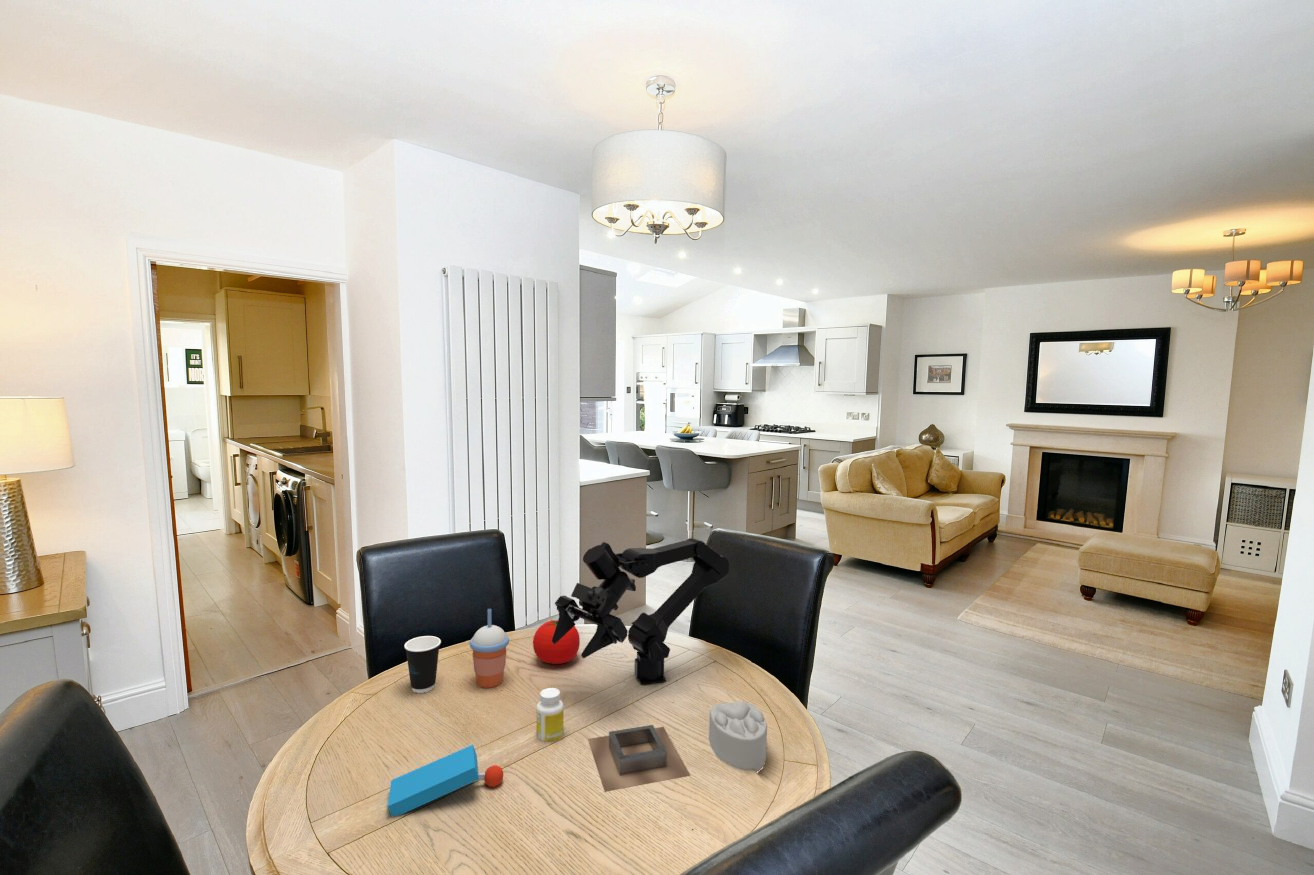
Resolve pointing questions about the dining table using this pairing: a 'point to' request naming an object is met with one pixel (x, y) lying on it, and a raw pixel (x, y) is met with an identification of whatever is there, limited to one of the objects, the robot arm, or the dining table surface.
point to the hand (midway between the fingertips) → (567, 649)
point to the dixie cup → (422, 662)
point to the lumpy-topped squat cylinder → (738, 735)
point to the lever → (439, 780)
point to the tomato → (558, 651)
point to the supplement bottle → (549, 715)
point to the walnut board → (616, 781)
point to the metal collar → (637, 760)
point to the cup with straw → (489, 654)
